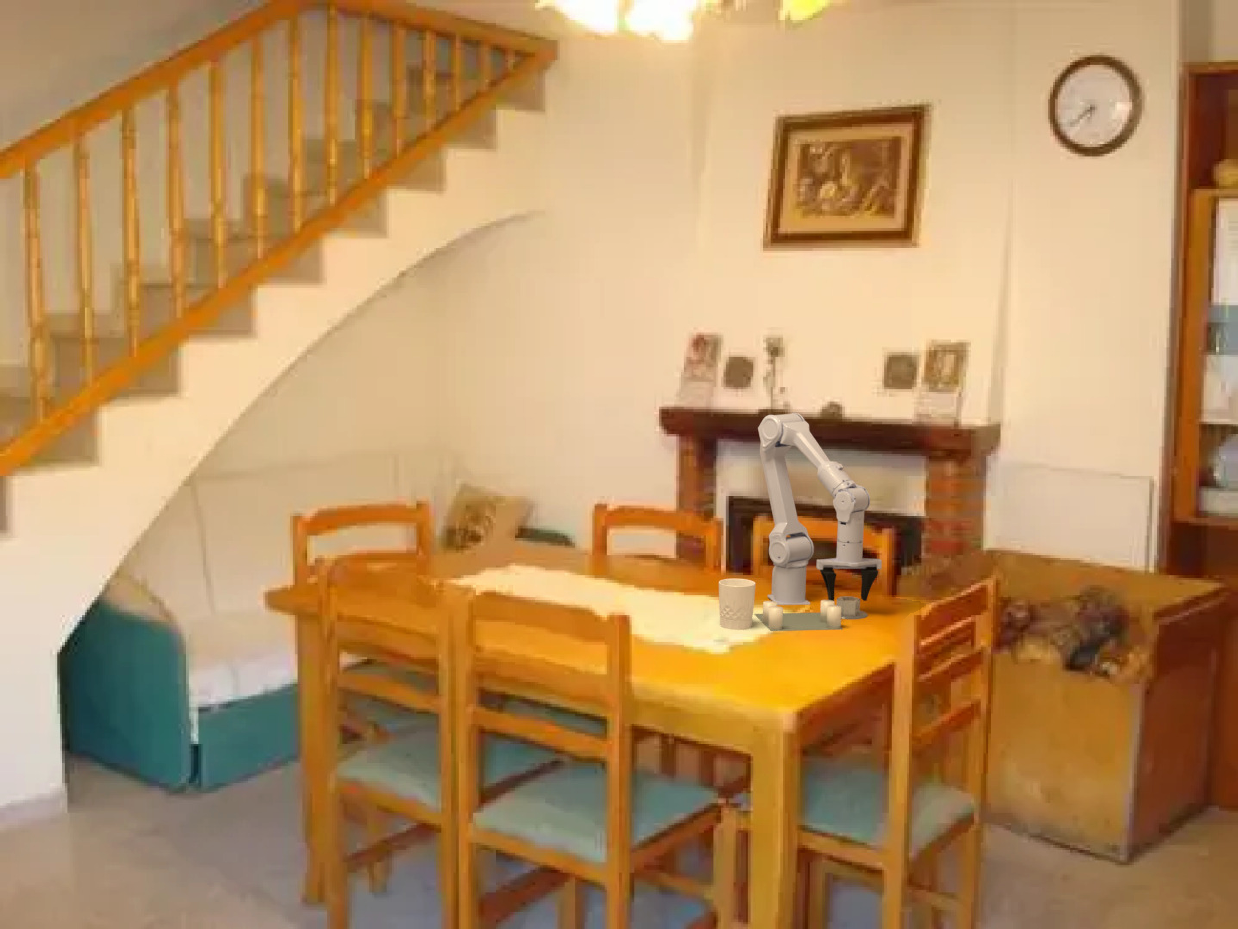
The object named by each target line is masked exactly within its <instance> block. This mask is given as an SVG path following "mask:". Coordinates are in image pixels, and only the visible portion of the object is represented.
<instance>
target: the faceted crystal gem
mask: <svg viewBox="0 0 1238 929" xmlns="http://www.w3.org/2000/svg"><path fill="white" fill-rule="evenodd" d="M836 605H837V606H841V615H842V616H857V615H859V614H860V611H861V610H860V609H861V598H859V597H855V596H853V595H852V596H851V595H849V596H848V595H846V596H845V595H843V596H839V597H837V598H836Z"/></svg>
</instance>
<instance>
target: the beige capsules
mask: <svg viewBox="0 0 1238 929" xmlns="http://www.w3.org/2000/svg"><path fill="white" fill-rule="evenodd" d="M762 602H763V603H762V614H763V623H764V624H768V628H769V629H771V630H781V629H782V624H783V613H784V608H783V607H782V606H779V605H777V602H775V601H772V600H765V601H762ZM835 603H836V602H835V600H834V601H832V600H828V599H822V600H820V612H819V613H820V622H823V623H827V628H831V629H839V628H842V619H841V606H837V604H835ZM763 623H762V624H763ZM764 624H763V625H764ZM768 628H767V629H768ZM769 629H768V630H769Z"/></svg>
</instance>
